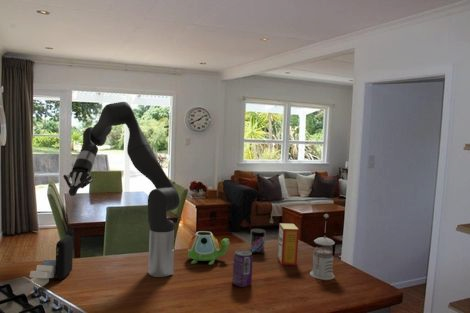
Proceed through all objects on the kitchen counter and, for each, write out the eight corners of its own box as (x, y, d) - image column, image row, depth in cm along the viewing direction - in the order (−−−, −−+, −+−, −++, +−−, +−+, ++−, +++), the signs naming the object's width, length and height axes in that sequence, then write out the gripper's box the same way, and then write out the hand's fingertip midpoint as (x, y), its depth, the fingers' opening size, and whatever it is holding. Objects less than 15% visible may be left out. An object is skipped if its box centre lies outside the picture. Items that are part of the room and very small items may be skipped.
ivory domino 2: (40, 271, 136) (30, 270, 124) (54, 272, 137) (47, 272, 125) (38, 276, 135) (29, 277, 124) (53, 277, 136) (45, 278, 125)
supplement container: (246, 252, 174) (248, 230, 174) (255, 249, 180) (256, 227, 179) (259, 256, 170) (260, 233, 170) (267, 252, 176) (268, 230, 175)
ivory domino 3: (35, 276, 133) (12, 291, 121) (48, 277, 133) (27, 292, 121) (35, 282, 133) (12, 297, 121) (48, 283, 133) (27, 298, 121)
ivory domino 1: (46, 265, 141) (37, 264, 130) (60, 266, 142) (52, 265, 131) (45, 271, 141) (35, 270, 129) (59, 272, 141) (51, 271, 130)
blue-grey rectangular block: (50, 260, 146) (43, 259, 135) (64, 262, 147) (58, 260, 136) (49, 266, 145) (42, 265, 134) (63, 267, 146) (57, 266, 135)
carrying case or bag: (61, 283, 132) (61, 242, 131) (52, 283, 132) (52, 242, 131) (73, 271, 143) (74, 233, 142) (65, 271, 143) (66, 233, 142)
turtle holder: (231, 265, 158) (232, 237, 157) (188, 265, 155) (189, 237, 154) (226, 254, 170) (228, 229, 169) (186, 255, 167) (187, 229, 166)
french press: (339, 275, 152) (343, 214, 150) (324, 283, 144) (329, 218, 142) (317, 268, 159) (321, 210, 157) (302, 275, 150) (306, 213, 148)
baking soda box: (277, 257, 170) (279, 222, 169) (291, 257, 171) (293, 222, 170) (281, 264, 161) (283, 228, 160) (296, 265, 161) (298, 228, 160)
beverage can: (253, 282, 142) (255, 251, 141) (248, 289, 135) (249, 256, 134) (235, 278, 144) (237, 248, 143) (229, 285, 137) (231, 253, 136)
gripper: (67, 157, 167) (52, 188, 155) (96, 158, 166) (84, 190, 155) (72, 167, 172) (58, 199, 161) (101, 169, 172) (89, 200, 161)
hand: (71, 194), depth 158 cm, fingers closed
